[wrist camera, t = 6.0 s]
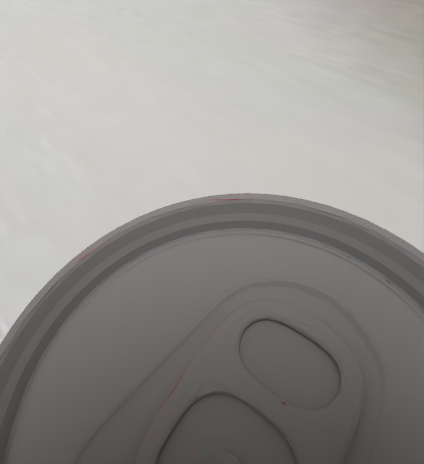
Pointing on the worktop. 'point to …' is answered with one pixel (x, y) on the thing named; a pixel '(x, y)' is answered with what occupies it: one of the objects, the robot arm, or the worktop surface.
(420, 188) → the worktop surface
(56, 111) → the worktop surface
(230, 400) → the beverage can
